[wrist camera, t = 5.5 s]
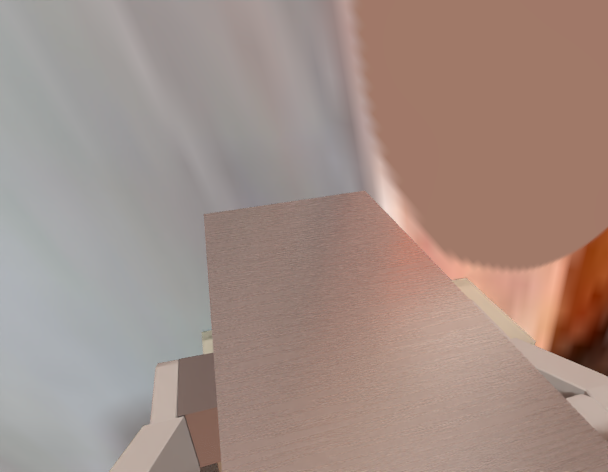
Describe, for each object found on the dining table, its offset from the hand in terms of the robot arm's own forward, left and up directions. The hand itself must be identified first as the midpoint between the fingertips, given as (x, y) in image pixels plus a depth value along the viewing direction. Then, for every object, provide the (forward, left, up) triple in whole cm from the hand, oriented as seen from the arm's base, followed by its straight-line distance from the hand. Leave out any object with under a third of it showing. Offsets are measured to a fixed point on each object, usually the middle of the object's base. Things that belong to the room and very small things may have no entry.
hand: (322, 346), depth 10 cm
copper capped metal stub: (0, 0, -4) cm, 4 cm away
